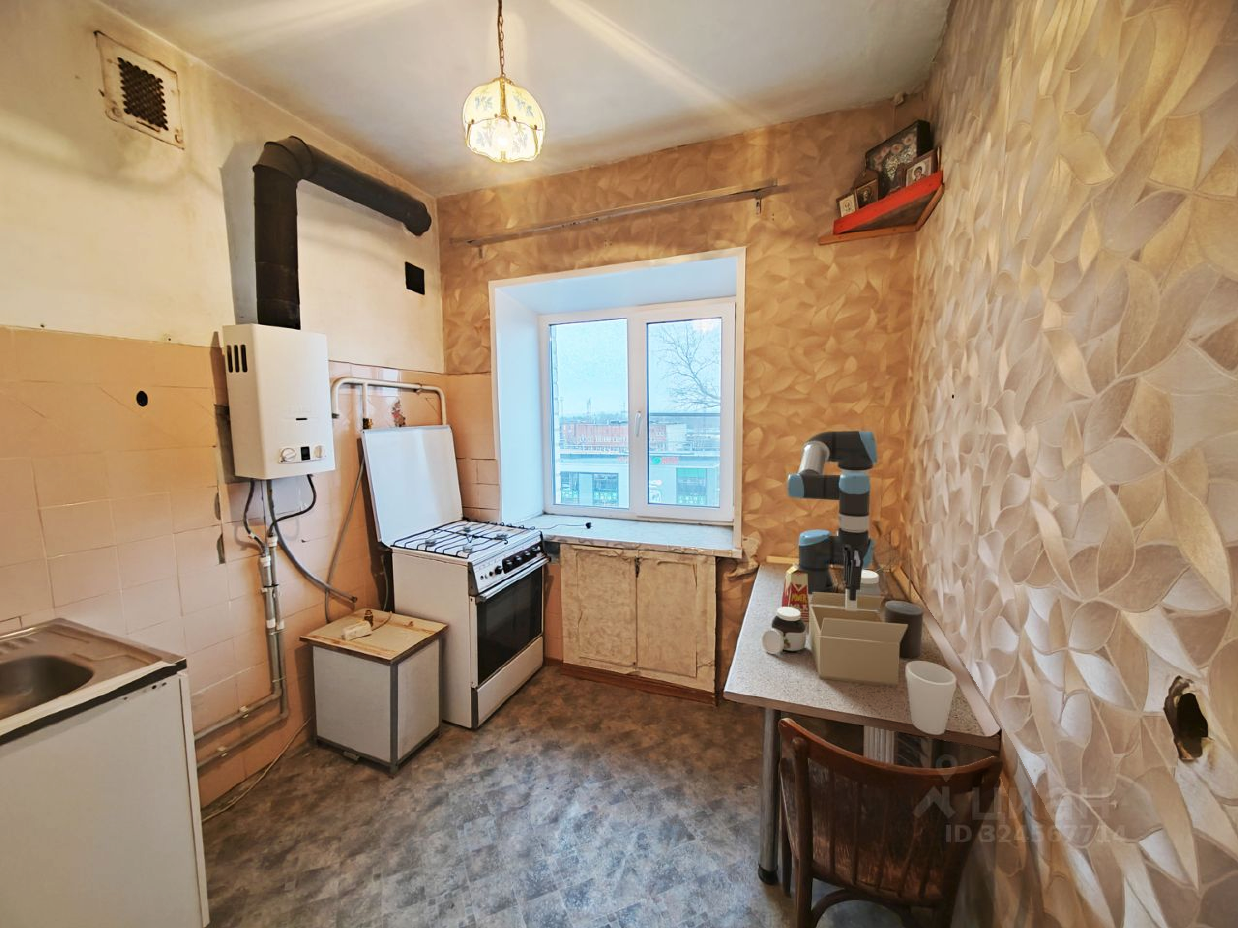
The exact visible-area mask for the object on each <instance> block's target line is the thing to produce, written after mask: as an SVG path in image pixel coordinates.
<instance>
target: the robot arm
mask: <svg viewBox="0 0 1238 928" xmlns="http://www.w3.org/2000/svg"><path fill="white" fill-rule="evenodd" d="M800 455H801V456H800V457H801V462H800V465H799V468H798V471H797V472H796V473H790V474H789V475H788V478H787V486H786V487H787V488H786V489H787V494H788V496H789V497H790V498H795V499H797V498H798V499H800V500H802V499H807V500H808V499H809V500H810V499H811V500H829V501H830V500H831V501H838V515H839V516H836V517H835V518H836V521H838V527H839V528H838V529H837V531H836V532H835V533H836V535H832V533H831V532H830V530H827V529H826V530H825V529H811V530H809V529H808V530H806V531H803V532H801V533H800V535H799V538H798V544H797V546H798V566H799V568H798V569H799V570H801V571H803V572H805V573H807V577H808V594H812V593H813V592H824V593H833V592H834V590H835V584H834V583H835V582H834V580H833V577H832V573H831V571H830V568H831V567H830V566H831V565H832V566H838V567H839V566H840V567H843V580H844V583H845V585H844V589H845V594H846V598H845V607H844V608H846V610H849V611H857V592H858V590H860V583H861V573H862V570H863V569H868V568H869V567H871V565H872V560H873V555H874V550H875V549H874V547H875V540H874V539H872V538H871V534H870V533H869V529H870V499H871V489H872V488H871V487H872V486H871V477H870V475H869V472H870V471H871V470H872V469H873V467H874V464H875V465H876V463H878V461H879V460H878V452H877V443H876V437H875V434H874V432H872V431H868V430H839V431H836V430H835V431H834V430H829V431H823V432H820V433H818V434H815V435H813V436H812V437H810V438H809V439H807V440H806V441H805V442H804V444H803V445H802V448H801V450H800ZM826 463H837V468H838V469H839V470H840V471H841V474H824V472H825V464H826Z"/></svg>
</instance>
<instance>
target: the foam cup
mask: <svg viewBox="0 0 1238 928" xmlns="http://www.w3.org/2000/svg"><path fill="white" fill-rule="evenodd" d="M904 675H905V678H906V684H907V685H906V686H907V692H908V693H907V694H908V702H909V710H910V718H911V723H912V725H913V726H914V727H915V728H916V729H918V730H920V731H921V732H924V733H926V734H930V735H941V734H944V733H945V730H946V727H947V722H948V719H949V716H950V715H949V714H950V710H951V708H952V707H951V706H952V703H953V702H952V701H953V698H954V693H955V691H956V690H957V676H955V673H953V672H952V671H951V670H950V669H948V668H946V667H944V666H943V665H940V664H936V663H935V662H934V663H933V662H929V661H926V660H923V661H922V660H913V661H910V662H907V664H906V665H905V674H904Z"/></svg>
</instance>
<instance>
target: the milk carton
mask: <svg viewBox="0 0 1238 928" xmlns="http://www.w3.org/2000/svg"><path fill="white" fill-rule="evenodd" d="M798 568H799V565H796V564H795V563H794V562H793V563H792V566H791V567H790V568H789V569H788V570H786V572H785V578H784V582H783V588H782V596H781V605H780V607H792V608H795V609H797V610H799V611H800V612H801V619H802V620H803V621H804V623H805V625H806V626H809V605H810V599H809V598H810V596H809V593H808V577H807V573H805V572H803V571H801V570H799V569H798Z"/></svg>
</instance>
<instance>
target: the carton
mask: <svg viewBox="0 0 1238 928" xmlns="http://www.w3.org/2000/svg"><path fill="white" fill-rule="evenodd" d="M824 618H835V619H847V620H859V621H871V622H884V618H883V617H882V615H881V613H880V614H879V613H878V611H877V610H865V609H857V611H849V610H846V608H845V607H839V606H826V605H813V604H809V625H808V644H809V647H810V650H811V654H812V657H813V661H814V664H815V667H816V671H817V675H818V678H819V679H822V680H831V681H840V682H848V683H857V684H866V685H876V686H883V687H884V686H885V687H893V688H899V671H900V669H899V667H900V657H899V647H900V644H899V643H892V642H881V641H870V640H859V639H848V638H837V637H826V636H820V633H821V629H822V624H823V620H824ZM884 623H885V622H884Z"/></svg>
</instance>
